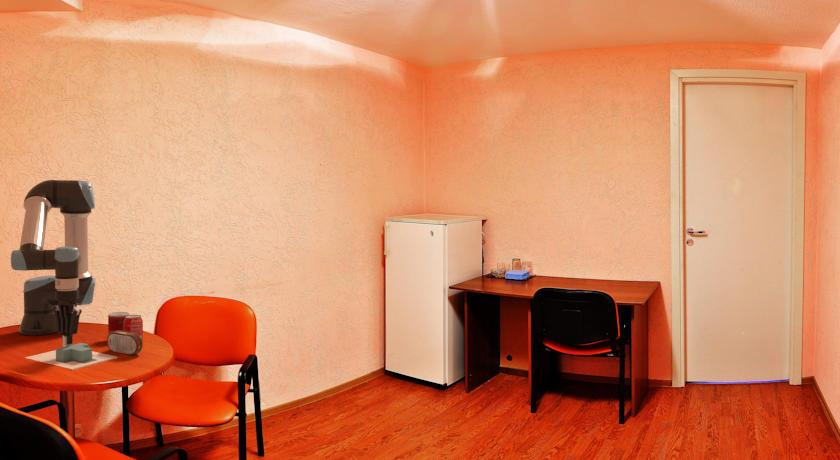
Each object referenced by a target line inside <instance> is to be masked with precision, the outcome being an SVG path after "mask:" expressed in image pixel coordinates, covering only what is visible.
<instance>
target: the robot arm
mask: <svg viewBox="0 0 840 460" xmlns="http://www.w3.org/2000/svg"><path fill="white" fill-rule="evenodd" d="M23 208H24V210H25V212H24V219H23V223H22V224H23V225H22V232H21V237H20V243H19V249H14V250H12V252H11V254H10V267H11V269H12V270H13V271H22V272H23V271H25V272H26V271H45V270H46V271H47V270H49V271H50V270H52V271H53V270H54V271H55V272H54V274H55V275H42V276H35V277H31V278H28V279H26V280H25V281H24V283H23V290H22V292H23V317H22V319H21V322H20V325H19V328H18V330H19V331H18V332H19V334H20V335H24V336H42V335H50V334H55V333H60V335H61V343H62V347H66V346H71V345H73V336H74V335H76V334H77V333H78V330H79V329H78V328H79V324H80V317H81V314H82V311H83V310H82V309H80V308H78V306H87V305H91V304H92V303H93V301H94V293H95V287H96V281H97V279H96V277H93V274H92V272H90V271H89V247H88V246H89V245H88V244H89V242H88V241H89V238H88V234H89V233H88V216H89V215H90V214H92V210H93V209H95V208H96V202H95V193H94V189H93V185H92V183H91V182H90V181H86V180H79V179H78V180H76V179H75V180H71V179H68V180H67V179H64V180H62V179H59V180H58V179H47V180H43V181H41V182H39V183H36V185H34V186H33V187H32V188H31V189H30V190H29V191H28V192H27V194H26V195H25V197H24V200H23ZM52 209H59V213H60V214H61V215H62V216H63V217H64V219H63V220H64V221H63V222H64V225H63V226H64V246H59V247H56V248H55V249H44V247H45V246H44V245H45V238H46V230H47V229H46V228H47V220H48V213H49V212H50V211H51V210H52Z"/></svg>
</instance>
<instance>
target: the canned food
mask: <svg viewBox="0 0 840 460" xmlns="http://www.w3.org/2000/svg"><path fill="white" fill-rule="evenodd" d="M128 315H130V313H129V312H126V311H115V312H114V311H113V312H110V313H108V316H107V317H108V318H107V321H108V322H107V324H108V325H107V327H108V328H107V329H108V330H107V331H108V332H107V336H108V335H109V334H110V333H112V332H115V331H117V330H119V331H123V324H124V320H125V316H128Z"/></svg>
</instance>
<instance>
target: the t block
mask: <svg viewBox="0 0 840 460" xmlns="http://www.w3.org/2000/svg"><path fill="white" fill-rule="evenodd" d="M55 350H56V360H59V361H63V362H64V361H67V360H75V361H79V362H85V361H88V360H92V351H93V348H90V346H89V343H83V342H78V343H76V344H72V345H71V346H66V347H63V346H62V347H59V348H55Z"/></svg>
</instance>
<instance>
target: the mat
mask: <svg viewBox="0 0 840 460" xmlns="http://www.w3.org/2000/svg"><path fill="white" fill-rule="evenodd" d="M24 359H29V360H33V361H36V362H41V363H44V364H48V365H49V364H50V365H53V366H57V367H61V368H64V369H68V370H70V371H75V370H79V369H83V368H86V367H89V366H94V365H97V364H100V363H103V362H109V361H112V360H115V359H118V356H116V355H111V354H106V353H102V352H97V351H93V350H92V360H88V361H85V362H79V361H75V360H67V361H64V362H63V361H59V360H56V349H55V350H50V351H46V352H43V353H39V354H34V355H29V356H25V357H24Z"/></svg>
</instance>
